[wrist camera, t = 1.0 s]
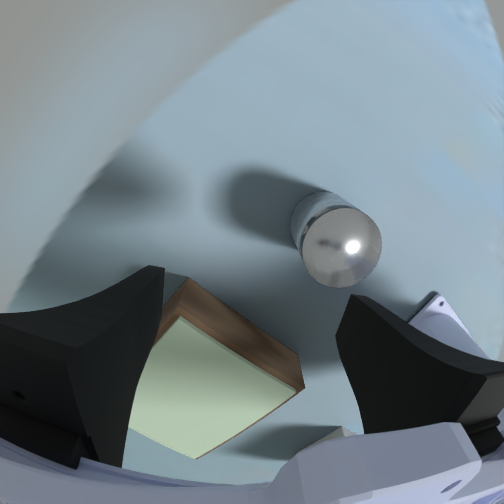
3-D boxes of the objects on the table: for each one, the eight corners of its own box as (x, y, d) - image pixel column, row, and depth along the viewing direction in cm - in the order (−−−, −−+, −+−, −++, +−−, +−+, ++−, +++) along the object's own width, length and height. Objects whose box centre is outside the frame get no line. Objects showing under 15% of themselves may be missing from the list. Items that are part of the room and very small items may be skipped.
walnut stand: (297, 354, 25) (306, 391, 21) (199, 429, 28) (196, 462, 24) (188, 277, 22) (177, 309, 18) (107, 375, 26) (92, 408, 22)
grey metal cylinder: (365, 221, 21) (396, 246, 16) (322, 267, 22) (341, 301, 17) (322, 177, 20) (345, 191, 15) (276, 227, 21) (285, 254, 16)
